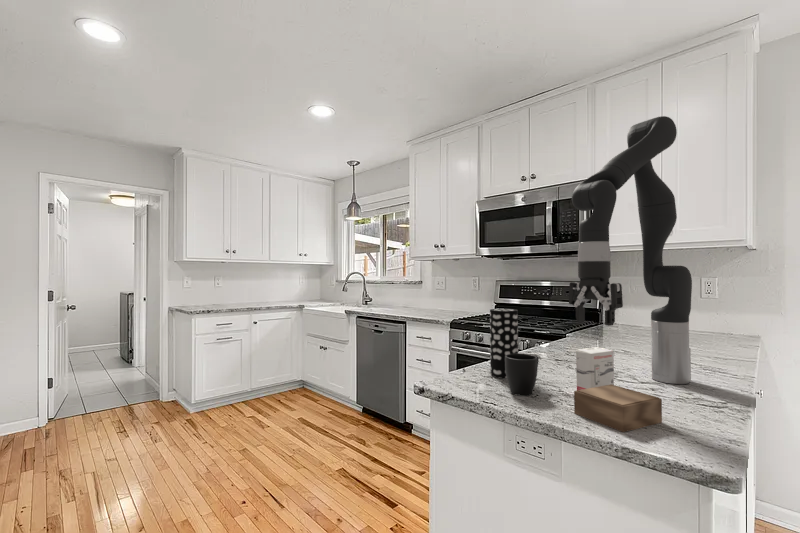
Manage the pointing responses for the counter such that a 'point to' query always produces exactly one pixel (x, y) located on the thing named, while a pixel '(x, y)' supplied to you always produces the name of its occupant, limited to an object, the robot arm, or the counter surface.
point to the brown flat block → (618, 407)
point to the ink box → (594, 367)
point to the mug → (521, 373)
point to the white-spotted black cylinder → (502, 339)
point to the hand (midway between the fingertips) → (594, 323)
